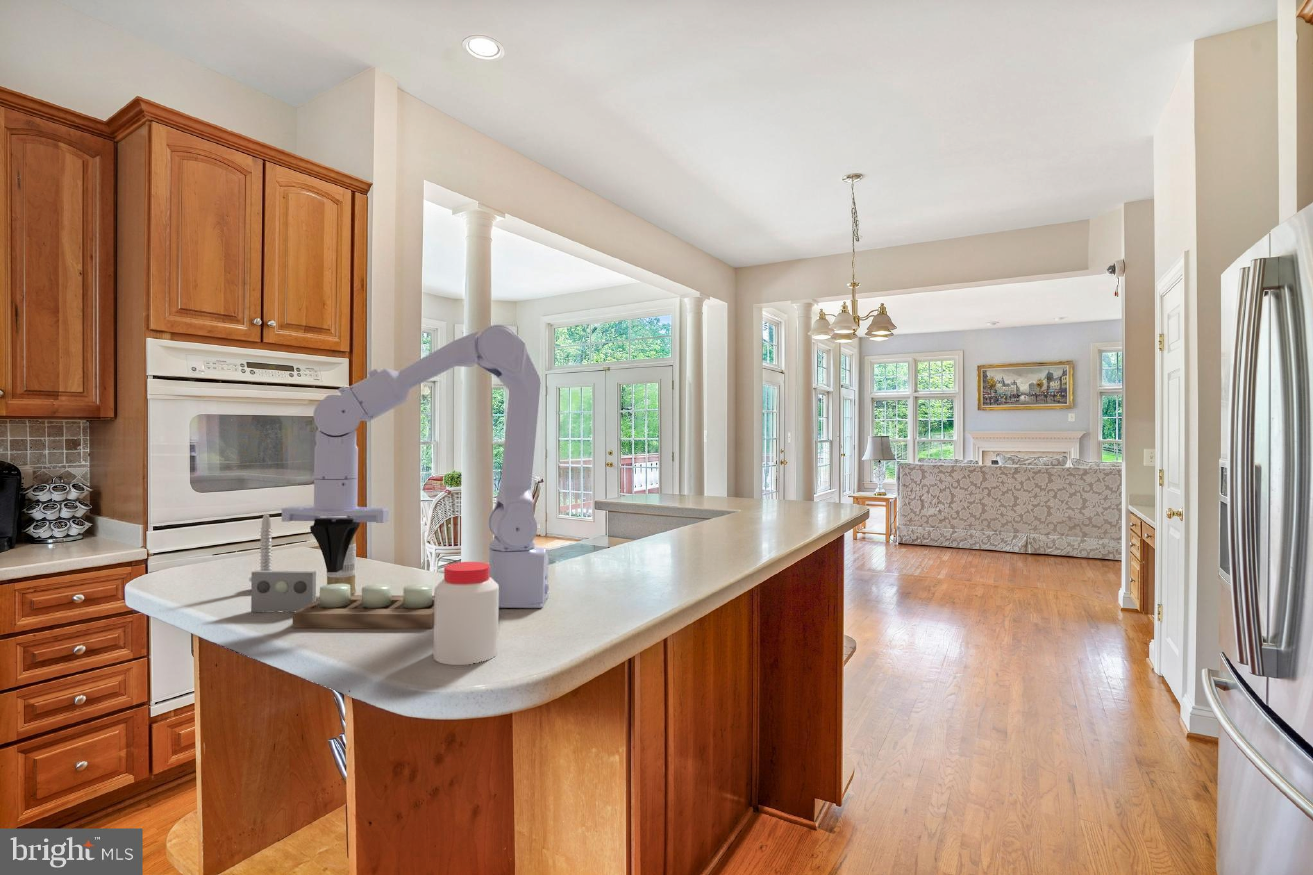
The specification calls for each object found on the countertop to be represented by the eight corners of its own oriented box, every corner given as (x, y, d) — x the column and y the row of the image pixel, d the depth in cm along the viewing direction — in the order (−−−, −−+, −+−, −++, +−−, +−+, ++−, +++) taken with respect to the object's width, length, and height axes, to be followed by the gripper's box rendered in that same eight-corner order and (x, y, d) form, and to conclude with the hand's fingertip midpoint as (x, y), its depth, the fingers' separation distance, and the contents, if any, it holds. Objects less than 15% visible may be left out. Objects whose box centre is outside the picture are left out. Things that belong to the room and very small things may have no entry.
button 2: (435, 600, 97) (435, 584, 97) (427, 608, 93) (427, 590, 93) (408, 600, 97) (409, 584, 96) (399, 608, 93) (399, 590, 92)
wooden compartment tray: (451, 608, 100) (451, 595, 100) (430, 628, 90) (431, 614, 90) (326, 607, 99) (327, 594, 99) (292, 627, 89) (292, 613, 89)
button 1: (354, 600, 96) (354, 583, 96) (342, 607, 92) (342, 590, 92) (327, 600, 96) (327, 583, 96) (314, 607, 92) (314, 590, 92)
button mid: (395, 600, 96) (395, 584, 96) (385, 607, 92) (385, 590, 92) (368, 600, 96) (368, 583, 96) (356, 607, 92) (356, 590, 92)
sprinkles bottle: (351, 589, 110) (352, 511, 110) (359, 595, 107) (360, 514, 107) (322, 593, 107) (323, 513, 107) (329, 599, 104) (329, 516, 104)
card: (315, 610, 98) (315, 571, 97) (311, 612, 96) (312, 572, 96) (255, 610, 97) (255, 570, 97) (250, 612, 96) (250, 572, 96)
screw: (266, 585, 113) (288, 587, 111) (241, 591, 108) (264, 594, 107) (267, 510, 112) (289, 512, 111) (242, 514, 108) (265, 515, 106)
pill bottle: (436, 669, 75) (437, 575, 75) (430, 647, 82) (431, 562, 82) (503, 660, 78) (504, 570, 78) (492, 640, 85) (493, 558, 85)
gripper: (270, 479, 90) (268, 576, 90) (375, 481, 90) (373, 577, 90) (296, 475, 97) (295, 565, 97) (394, 477, 97) (392, 567, 97)
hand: (334, 571), depth 94 cm, fingers closed
